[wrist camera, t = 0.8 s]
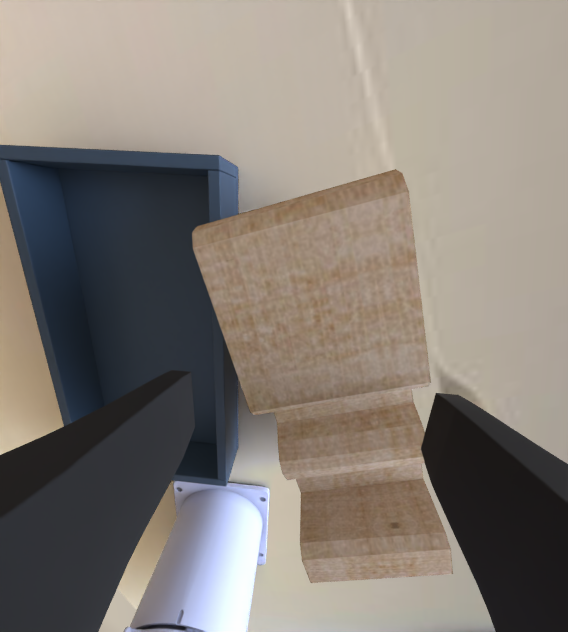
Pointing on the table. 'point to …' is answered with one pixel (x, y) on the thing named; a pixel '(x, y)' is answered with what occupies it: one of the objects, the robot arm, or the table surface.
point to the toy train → (335, 367)
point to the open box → (127, 281)
